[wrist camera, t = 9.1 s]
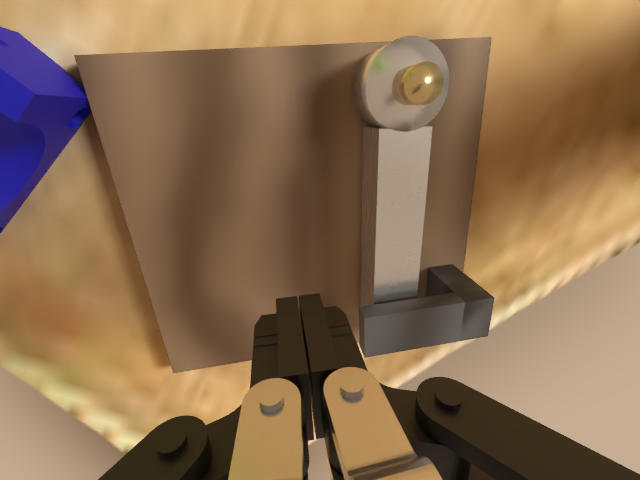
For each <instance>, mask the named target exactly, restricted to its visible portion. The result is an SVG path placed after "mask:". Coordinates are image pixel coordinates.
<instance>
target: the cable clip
mask: <svg viewBox="0 0 640 480" xmlns="http://www.w3.org/2000/svg"><path fill="white" fill-rule="evenodd" d="M91 112H92V111H91V107H90V104H89V101H88V98H87V95H86V91H85V88H84V85H83V84H82V83H80V82H79V81H78V80H77V79H75V78H74V77H73V76H72V75H70V74H69V73H68V72H67V71H65V70H64V69H63V68H62V67H60V66H59V65H58V64H57V63H55V62H54V61H53V60H52V59H50V58H49V57H48V56H47V55H45V54H44V53H43V52H42V51H40V50H39V49H38V48H37V47H35V46H34V45H33V44H32V43H30V42H29V41H28V40H27V39H25V38H24V37H23V36H22V35H20V34H19V33H18V32H14V31H11V30H8V29H5V28H2V27H0V233H1V232H2V231H3V229H4V228H5V227H6V225H7V224H8V223H9V221H10V220H11V219H12V217H13V216H14V215H15V213H16V212H17V211H18V209H19V208H20V207H21V205H22V204H23V203H24V201H25V200H26V198H27V197H28V196H29V194H30V193H31V192H32V190H33V189H34V188H35V186H36V185H37V184H38V182H39V181H40V180H41V178H42V177H43V176H44V174H45V173H46V172H47V170H48V169H49V168H50V166H51V165H52V164H53V162H54V161H55V160H56V158H57V157H58V156H59V154H60V153H61V152H62V150H63V149H64V148H65V146H66V145H67V144H68V142H69V141H70V140H71V138H72V137H73V136H74V134H75V133H76V132H77V130H78V129H79V128H80V126H81V125H82V124H83V122H84V121H85V120H86V118H87V117H88V116H89V114H90V113H91Z"/></svg>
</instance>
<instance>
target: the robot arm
mask: <svg viewBox="0 0 640 480" xmlns="http://www.w3.org/2000/svg"><path fill="white" fill-rule="evenodd" d="M299 308H300V313H299ZM311 405H312V409H311ZM312 412H313V419H314V426H315V433H316V439H319V438H325V443H326V448H327V459H328V470H329V474H330V478H331V480H640V474H638V473H636V472H634V471H632V470H630V469H628V468H626V467H624V466H622V465H620V464H618V463H616V462H614V461H612V460H611V459H609V458H606V457H605V456H603V455H601V454H599V453H597V452H595V451H593V450H591V449H589V448H587V447H585V446H583V445H581V444H579V443H577V442H575V441H573V440H571V439H570V438H568V437H566V436H564V435H562V434H560V433H558V432H556V431H554V430H552V429H550V428H548V427H546V426H544V425H542V424H540V423H538V422H536V421H534V420H532V419H531V418H529V417H526V416H525V415H523V414H521V413H519V412H517V411H515V410H513V409H511V408H509V407H507V406H505V405H503V404H501V403H499V402H497V401H495V400H493V399H491V398H490V397H488V396H486V395H484V394H482V393H480V392H478V391H476V390H474V389H472V388H470V387H468V386H466V385H464V384H462V383H460V382H458V381H456V380H453V379H450V378H445V377H433V378H429V379H427V380H425V381H423V382H422V383H421V384H420V385H419V387H418V389H417V391H409V390H400V389H395V388H391V387H387V386H385V385H383V384H381V383H379V382H378V380H377V379H376V378H375V376H374V375H372V374H371V373H370V372H368V370H367V368H366V366H365V363H364V360H363V358H362V355H361V353H360V350H359V347H358V345H357V342H356V339H355V337H354V335H353V332H352V329H351V326H350V324H349V321H348V318H347V316H346V314H345V313H344V312H343V311H342V310H341V309H340V308H338V307H337V306H330V307H323V304H322V300H321V296H320V293H317V294H308V295H300V296H299V306H298V300H297V296H292V297H284V298H276V313H275V314H267V315H261V317H260V318H259V320H258V321H257V323H256V324H255V326H254V339H253V354H252V369H251V384H250V390H249V391H248V392H247V393H246V395H245V396H244V398H243V401H242V404H241V405H240V406H239V407H238V408H237V409H236V410H235V411H233V412H232V413H230V414H229V415H227V416H225V417H223V418H221V419H219V420H216V421H214V422H212V423H210V424H208V425H205V424H204V422H203V421H202V420H200V419H199V418H197V417H194V416H179V417H175V418H172V419H170V420H167V421H166V422H164V423H162V424H160V425H159V426H157V427H156V428H155V429H154V430H152V431H151V432H150V433H149V434H148V435H147V436H146V437H145V438H144V439H142V440H141V441H140V442H139V443H138V444H137V445H136V446H135V447H134V448H133V449H131V450H130V451H129V452H128V453H127V454H126V455H125V456H124V457H123V458H121V459H120V460H119V461H118V462H117V463H116V464H115V465H114V466H113V467H112V468H110V469H109V470H108V471H107V472H106V473H105V474H104V475H103V476H102V477H100V478H99V479H98V480H308V467H309V450H308V441H309V440H314V434H313V421H312Z"/></svg>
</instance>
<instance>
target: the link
mask: <svg viewBox="0 0 640 480" xmlns="http://www.w3.org/2000/svg"><path fill="white" fill-rule="evenodd" d="M448 88H449V70H448V66H447V62H446V60H445V58H444V55H443V54H442V52H441V51H440V50H439V48H438V47H437V46H436V45H435V44H434V43H432V42H431V41H429V40H427V39H425V38H422V37H418V36H406V37H402V38H399V39H397V40H394V41H393V42H391V43H389V44H387V45H385V46H383V47H381V48H379V49H377V50H376V51H374V52H372V53H371V54H369V55H368V56H367V57H366V58H365V59H364V60H363V61H362V62H361V64H360V65H359V67H358V68H357V70H356V73H355V75H354V79H353V83H352V98H353V103H354V106H355V109H356V111H357V112H358V114H359V116H360V117H361V118H362V119H363V120H364V121H365V122H366V123H368V124H369V125H371V126H363V153H362V225H361V296H360V307H363V306H369V305H376V304H382V303H389V302H395V301H402V300H408V299H415V298H417V292H418V281H419V270H420V259H421V248H422V237H423V226H424V215H425V204H426V193H427V182H428V171H429V160H430V150H431V139H432V128H433V126H425V125H426V124H428V123H429V122H430V121H431V120H432V119H433V118H434V117H435V116H436V115H437V114H438V113H439V111H440V110H441V108H442V106H443V104H444V102H445V99H446V97H447V93H448Z"/></svg>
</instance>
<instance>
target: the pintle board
mask: <svg viewBox="0 0 640 480" xmlns="http://www.w3.org/2000/svg"><path fill="white" fill-rule="evenodd" d="M429 41H431V42H432V43H434V44H435V45H436V46H437V47H438V48H439V50H440V51H441V52H442V54H443V55H444V58H445V60H446V62H447V66H448V70H449V88H448V93H447V97H446V99H445V102H444V104H443V106H442V108H441V110H440V111H439V113H438V114H437V115H436V116H435V117H434V118H433V119H432V120H431V121H430V122H429V123H428V124H426V125H425V126H433V128H432V139H431V150H430V160H429V171H428V182H427V193H426V204H425V215H424V226H423V237H422V248H421V259H420V270H419V281H418V292H417V298H415V299H408V300H402V301H395V302H389V303H382V304H376V305H369V306H363V307H360V296H361V225H362V153H363V126H371V125H369V124H368V123H366V122H365V121H364V120H363V119H362V118H361V117H360V116H359V114H358V112H357V111H356V109H355V106H354V103H353V98H352V83H353V79H354V75H355V73H356V70H357V68H358V67H359V65H360V64H361V62H362V61H363V60H364V59H365V58H366V57H367V56H368V55H369V54H371V53H372V52H374V51H376V50H377V49H379V48H381V47H383V46H385V45H387V44H389V43H391V42H371V43H348V44H325V45H302V46H279V47H256V48H233V49H210V50H187V51H164V52H141V53H118V54H95V55H74V56H75V59H76V62H77V66H78V69H79V72H80V75H81V79H82V82H83V85H84V88H85V91H86V95H87V98H88V101H89V104H90V107H91V111H92V114H93V117H94V120H95V123H96V127H97V130H98V133H99V136H100V140H101V143H102V146H103V149H104V152H105V156H106V159H107V162H108V165H109V168H110V172H111V175H112V178H113V181H114V184H115V188H116V191H117V194H118V197H119V200H120V204H121V207H122V210H123V213H124V217H125V220H126V223H127V226H128V229H129V233H130V236H131V239H132V242H133V245H134V249H135V252H136V255H137V258H138V261H139V265H140V268H141V271H142V274H143V278H144V281H145V284H146V287H147V290H148V294H149V297H150V300H151V303H152V306H153V310H154V313H155V316H156V319H157V322H158V326H159V329H160V332H161V335H162V339H163V342H164V345H165V348H166V351H167V355H168V358H169V361H170V364H171V367H172V371H173V373H177V372H183V371H189V370H195V369H201V368H207V367H213V366H219V365H225V364H231V363H237V362H243V361H249V360H252V354H253V339H254V326H255V324H256V323H257V321H258V320H259V318H260V317H261V315H267V314H275V313H276V298H284V297H292V296H297V300H298V306H299V296H300V295H308V294H317V293H320V296H321V300H322V304H323V307H330V306H337V307H338V308H340V309H341V310H342V311H343V312H344V313H345V314H346V316H347V318H348V321H349V324H350V326H351V329H352V332H353V335H354V337H355V339H356V342H359V344H360V347H361V350H362V352H363V354H364V357H371V356H377V355H382V354H388V353H394V352H400V351H405V350H411V349H417V348H423V347H428V346H434V345H440V344H446V343H451V342H457V341H463V340H469V339H474V338H480V337H486V336H488V332H489V326H490V320H491V315H492V309H493V303H494V297H493V296H491V295H490V294H489V293H488V292H487V291H485V290H484V289H483V288H482V287H480V286H479V285H478V284H477V283H475V282H474V281H473V280H472V279H470V278H469V277H468V276H467V275H465V274H464V273H463V269H464V261H465V253H466V244H467V236H468V228H469V219H470V211H471V203H472V195H473V186H474V178H475V170H476V162H477V153H478V145H479V137H480V128H481V120H482V112H483V104H484V95H485V87H486V79H487V70H488V62H489V54H490V46H491V37H485V38H462V39H440V40H429ZM299 313H300V308H299Z"/></svg>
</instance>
